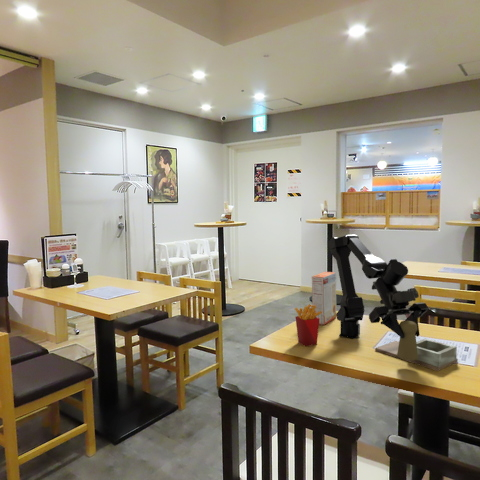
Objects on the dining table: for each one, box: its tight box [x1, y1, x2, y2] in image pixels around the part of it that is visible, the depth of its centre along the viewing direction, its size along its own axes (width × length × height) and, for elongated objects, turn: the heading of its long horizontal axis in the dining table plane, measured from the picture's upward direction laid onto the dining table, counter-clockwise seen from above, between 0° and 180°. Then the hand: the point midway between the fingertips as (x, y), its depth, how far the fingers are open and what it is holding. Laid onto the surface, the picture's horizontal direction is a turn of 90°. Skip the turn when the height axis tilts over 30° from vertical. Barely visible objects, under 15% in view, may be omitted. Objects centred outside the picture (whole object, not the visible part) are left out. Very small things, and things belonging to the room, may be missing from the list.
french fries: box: [294, 303, 322, 347], centre depth 145 cm, size 9×8×15 cm
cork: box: [397, 320, 418, 361], centre depth 122 cm, size 6×6×11 cm
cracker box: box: [311, 271, 337, 326], centre depth 175 cm, size 14×6×21 cm, turn 145°
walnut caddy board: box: [374, 338, 459, 372], centre depth 132 cm, size 22×12×5 cm, turn 35°
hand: (411, 336), depth 121 cm, fingers closed on cork, 5 cm apart
